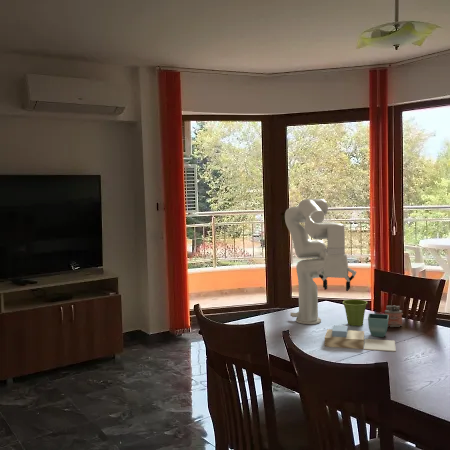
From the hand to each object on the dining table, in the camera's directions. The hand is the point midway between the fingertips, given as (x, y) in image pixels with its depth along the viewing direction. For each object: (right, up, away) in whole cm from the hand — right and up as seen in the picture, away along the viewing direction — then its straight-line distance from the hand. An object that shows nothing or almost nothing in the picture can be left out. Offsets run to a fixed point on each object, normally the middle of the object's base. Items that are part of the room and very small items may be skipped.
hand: (336, 289), depth 226 cm
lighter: (+32, -20, +21) cm, 43 cm away
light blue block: (+1, -17, -4) cm, 18 cm away
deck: (+3, -23, -5) cm, 23 cm away
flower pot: (+20, -22, +6) cm, 30 cm away
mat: (+16, -23, -9) cm, 29 cm away
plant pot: (+15, -21, +25) cm, 36 cm away
